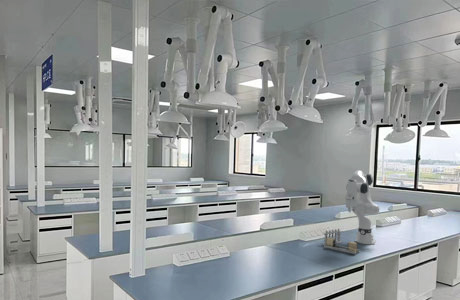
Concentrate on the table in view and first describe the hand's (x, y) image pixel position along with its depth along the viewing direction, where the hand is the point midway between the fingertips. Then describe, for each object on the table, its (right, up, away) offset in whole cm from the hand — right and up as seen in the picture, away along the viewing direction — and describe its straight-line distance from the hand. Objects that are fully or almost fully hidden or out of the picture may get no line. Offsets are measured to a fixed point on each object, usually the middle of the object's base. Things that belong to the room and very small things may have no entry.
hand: (351, 211), depth 291 cm
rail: (-12, -34, -8) cm, 37 cm away
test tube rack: (-13, -35, +16) cm, 40 cm away
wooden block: (-5, -33, -14) cm, 36 cm away
